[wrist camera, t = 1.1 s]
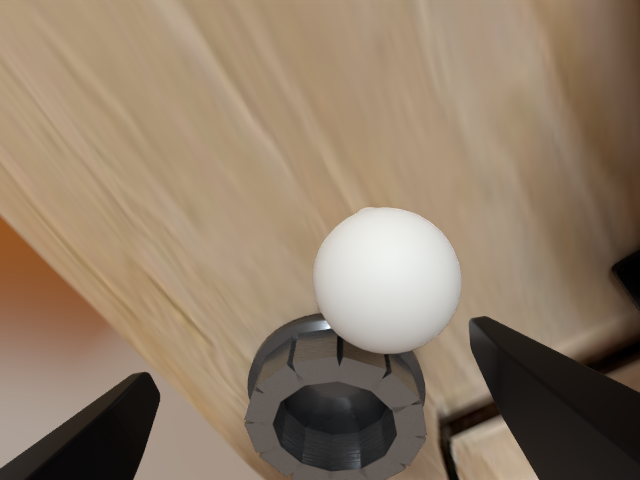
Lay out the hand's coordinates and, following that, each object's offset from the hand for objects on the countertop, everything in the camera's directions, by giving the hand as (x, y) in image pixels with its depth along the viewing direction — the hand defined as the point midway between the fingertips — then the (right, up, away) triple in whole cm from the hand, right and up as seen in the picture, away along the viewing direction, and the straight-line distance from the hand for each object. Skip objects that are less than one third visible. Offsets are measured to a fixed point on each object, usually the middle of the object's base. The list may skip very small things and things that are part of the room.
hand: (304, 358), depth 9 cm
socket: (+2, -9, +18) cm, 20 cm away
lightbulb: (+4, +4, +13) cm, 14 cm away
